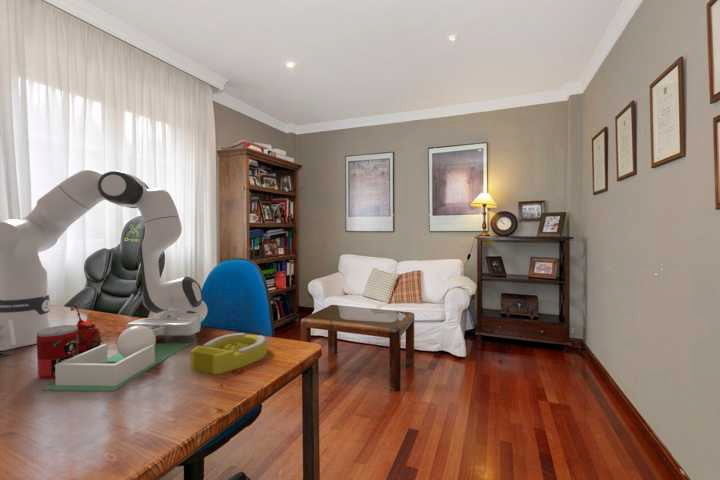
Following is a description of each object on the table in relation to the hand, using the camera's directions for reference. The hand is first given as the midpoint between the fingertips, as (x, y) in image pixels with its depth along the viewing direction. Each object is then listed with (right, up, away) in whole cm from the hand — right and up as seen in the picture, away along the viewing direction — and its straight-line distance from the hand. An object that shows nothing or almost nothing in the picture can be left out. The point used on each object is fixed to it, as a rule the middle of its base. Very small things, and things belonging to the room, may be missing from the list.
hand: (147, 334), depth 99 cm
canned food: (-14, -6, -14) cm, 20 cm away
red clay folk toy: (-19, -6, +2) cm, 20 cm away
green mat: (0, -6, -8) cm, 10 cm away
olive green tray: (+26, -6, -3) cm, 27 cm away
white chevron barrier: (-1, -6, -14) cm, 15 cm away
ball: (0, -1, -5) cm, 5 cm away
